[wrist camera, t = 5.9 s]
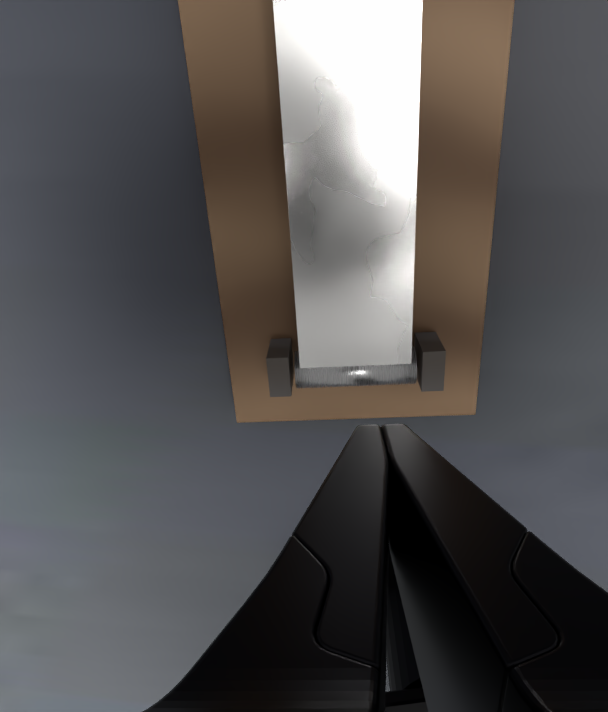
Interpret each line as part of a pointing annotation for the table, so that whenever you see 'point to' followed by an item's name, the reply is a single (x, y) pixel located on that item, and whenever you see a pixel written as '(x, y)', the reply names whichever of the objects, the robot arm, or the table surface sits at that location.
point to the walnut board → (271, 218)
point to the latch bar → (351, 184)
